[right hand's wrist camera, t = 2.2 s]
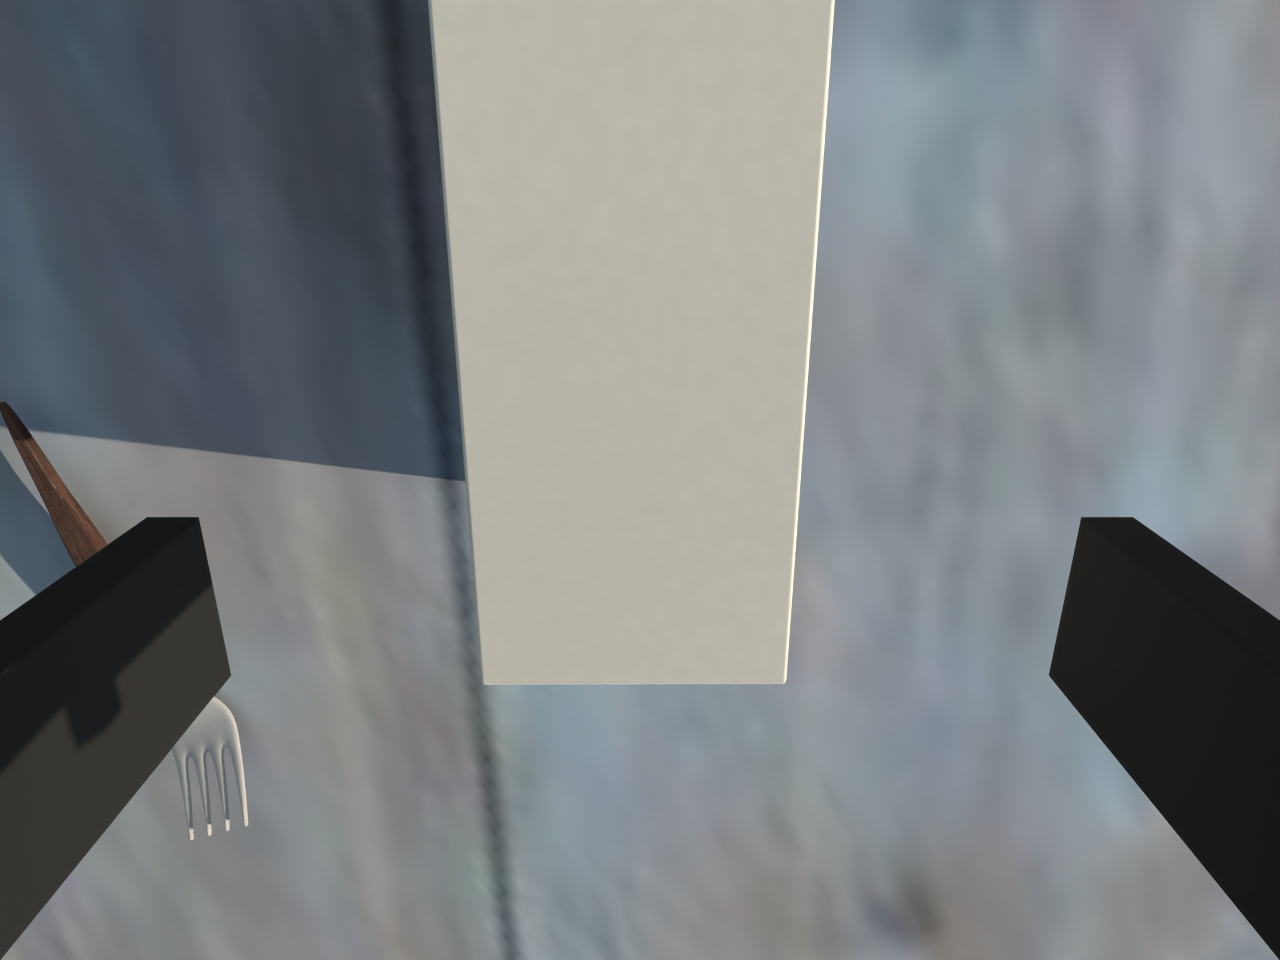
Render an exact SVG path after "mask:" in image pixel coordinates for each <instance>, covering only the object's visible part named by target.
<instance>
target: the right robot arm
mask: <svg viewBox="0 0 1280 960" xmlns="http://www.w3.org/2000/svg"><path fill="white" fill-rule="evenodd" d="M230 676H231V673H230V668H229V663H228V658H227V653H226V648H225V643H224V639H223V634H222V629H221V624H220V619H219V614H218V609H217V604H216V600H215V595H214V590H213V585H212V580H211V575H210V570H209V566H208V561H207V556H206V551H205V546H204V541H203V536H202V531H201V527H200V522H199V517H147V518H145V519H144V520H143V521H141V522H140V523H138V524H137V525H135V526H134V527H133V528H131V529H130V530H128V531H127V532H125V533H124V534H123V535H121V536H120V537H118V538H117V539H116V540H114V541H113V542H111V543H110V544H108V545H107V546H106V547H104V548H103V549H101V550H100V551H98V552H97V553H96V554H94V555H93V556H91V557H90V558H88V559H87V560H86V561H84V562H83V563H81V564H80V565H79V566H77V567H76V568H74V569H73V570H71V571H70V572H69V573H67V574H66V575H64V576H63V577H61V578H60V579H59V580H57V581H56V582H54V583H53V584H51V585H50V586H49V587H47V588H46V589H44V590H43V591H42V592H40V593H39V594H37V595H36V596H34V597H33V598H32V599H30V600H29V601H27V602H26V603H24V604H23V605H22V606H20V607H19V608H17V609H16V610H14V611H13V612H12V613H10V614H9V615H7V616H6V617H5V618H3V619H2V620H0V960H1V959H2V957H3V956H4V955H5V954H6V952H7V951H8V950H9V949H10V947H11V946H12V945H13V944H14V943H15V941H16V940H17V939H18V938H19V936H20V935H21V934H22V933H23V931H24V930H25V929H26V928H27V926H28V925H29V924H30V923H31V922H32V920H33V919H34V918H35V917H36V915H37V914H38V913H39V912H40V910H41V909H42V908H43V907H44V906H45V904H46V903H47V902H48V901H49V899H50V898H51V897H52V896H53V894H54V893H55V892H56V891H57V889H58V888H59V887H60V886H61V885H62V883H63V882H64V881H65V880H66V878H67V877H68V876H69V875H70V873H71V872H72V871H73V870H74V869H75V867H76V866H77V865H78V864H79V862H80V861H81V860H82V859H83V857H84V856H85V855H86V854H87V852H88V851H89V850H90V849H91V848H92V846H93V845H94V844H95V843H96V841H97V840H98V839H99V838H100V836H101V835H102V834H103V833H104V832H105V830H106V829H107V828H108V827H109V825H110V824H111V823H112V822H113V820H114V819H115V818H116V817H117V815H118V814H119V813H120V812H121V811H122V809H123V808H124V807H125V806H126V804H127V803H128V802H129V801H130V799H131V798H132V797H133V796H134V795H135V793H136V792H137V791H138V790H139V788H140V787H141V786H142V785H143V783H144V782H145V781H146V780H147V778H148V777H149V776H150V775H151V774H152V772H153V771H154V770H155V769H156V767H157V766H158V765H159V764H160V762H161V761H162V760H163V759H164V758H165V756H166V755H167V754H168V753H169V751H170V750H171V749H172V748H173V746H174V745H175V744H176V743H177V741H178V740H179V739H180V738H181V737H182V735H183V734H184V733H185V732H186V730H187V729H188V728H189V727H190V725H191V724H192V723H193V722H194V721H195V719H196V718H197V717H198V716H199V714H200V713H201V712H202V711H203V709H204V708H205V707H206V706H207V704H208V703H209V702H210V701H211V700H212V698H213V697H214V696H215V695H216V693H217V692H218V691H219V690H220V688H221V687H222V686H223V685H224V683H225V682H226V681H227V680H228V679H229V677H230ZM1049 676H1050V677H1051V679H1052V680H1053V681H1054V682H1055V683H1056V685H1057V686H1058V687H1059V688H1060V690H1061V691H1062V692H1063V693H1064V695H1065V696H1066V697H1067V698H1068V700H1069V701H1070V702H1071V703H1072V704H1073V706H1074V707H1075V708H1076V709H1077V711H1078V712H1079V713H1080V714H1081V716H1082V717H1083V718H1084V719H1085V721H1086V722H1087V723H1088V724H1089V725H1090V727H1091V728H1092V729H1093V730H1094V732H1095V733H1096V734H1097V735H1098V737H1099V738H1100V739H1101V740H1102V741H1103V743H1104V744H1105V745H1106V746H1107V748H1108V749H1109V750H1110V751H1111V753H1112V754H1113V755H1114V756H1115V758H1116V759H1117V760H1118V761H1119V762H1120V764H1121V765H1122V766H1123V767H1124V769H1125V770H1126V771H1127V772H1128V774H1129V775H1130V776H1131V777H1132V778H1133V780H1134V781H1135V782H1136V783H1137V785H1138V786H1139V787H1140V788H1141V790H1142V791H1143V792H1144V793H1145V795H1146V796H1147V797H1148V798H1149V799H1150V801H1151V802H1152V803H1153V804H1154V806H1155V807H1156V808H1157V809H1158V811H1159V812H1160V813H1161V814H1162V815H1163V817H1164V818H1165V819H1166V820H1167V822H1168V823H1169V824H1170V825H1171V827H1172V828H1173V829H1174V830H1175V832H1176V833H1177V834H1178V835H1179V836H1180V838H1181V839H1182V840H1183V841H1184V843H1185V844H1186V845H1187V846H1188V848H1189V849H1190V850H1191V851H1192V852H1193V854H1194V855H1195V856H1196V857H1197V859H1198V860H1199V861H1200V862H1201V864H1202V865H1203V866H1204V867H1205V869H1206V870H1207V871H1208V872H1209V873H1210V875H1211V876H1212V877H1213V878H1214V880H1215V881H1216V882H1217V883H1218V885H1219V886H1220V887H1221V888H1222V889H1223V891H1224V892H1225V893H1226V894H1227V896H1228V897H1229V898H1230V899H1231V901H1232V902H1233V903H1234V904H1235V906H1236V907H1237V908H1238V909H1239V910H1240V912H1241V913H1242V914H1243V915H1244V917H1245V918H1246V919H1247V920H1248V922H1249V923H1250V924H1251V925H1252V926H1253V928H1254V929H1255V930H1256V931H1257V933H1258V934H1259V935H1260V936H1261V938H1262V939H1263V940H1264V941H1265V943H1266V944H1267V945H1268V946H1269V947H1270V949H1271V950H1272V951H1273V952H1274V954H1275V955H1276V956H1277V957H1278V959H1279V960H1280V620H1278V619H1277V618H1275V617H1274V616H1273V615H1271V614H1270V613H1268V612H1267V611H1266V610H1264V609H1263V608H1261V607H1260V606H1258V605H1257V604H1256V603H1254V602H1253V601H1251V600H1250V599H1248V598H1247V597H1246V596H1244V595H1243V594H1241V593H1240V592H1238V591H1237V590H1236V589H1234V588H1233V587H1231V586H1230V585H1229V584H1227V583H1226V582H1224V581H1223V580H1221V579H1220V578H1219V577H1217V576H1216V575H1214V574H1213V573H1211V572H1210V571H1209V570H1207V569H1206V568H1204V567H1203V566H1201V565H1200V564H1199V563H1197V562H1196V561H1194V560H1193V559H1192V558H1190V557H1189V556H1187V555H1186V554H1184V553H1183V552H1182V551H1180V550H1179V549H1177V548H1176V547H1174V546H1173V545H1172V544H1170V543H1169V542H1167V541H1166V540H1164V539H1163V538H1162V537H1160V536H1159V535H1157V534H1156V533H1155V532H1153V531H1152V530H1150V529H1149V528H1147V527H1146V526H1145V525H1143V524H1142V523H1140V522H1139V521H1137V520H1136V519H1135V518H1133V517H1081V522H1080V527H1079V531H1078V536H1077V541H1076V546H1075V551H1074V556H1073V561H1072V566H1071V570H1070V575H1069V580H1068V585H1067V590H1066V595H1065V600H1064V604H1063V609H1062V614H1061V619H1060V624H1059V629H1058V634H1057V639H1056V643H1055V648H1054V653H1053V658H1052V663H1051V668H1050V673H1049Z"/></svg>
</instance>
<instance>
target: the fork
mask: <svg viewBox="0 0 1280 960" xmlns="http://www.w3.org/2000/svg"><path fill="white" fill-rule="evenodd" d="M0 410H1V413H2V416H3V418H4V421H5V423H6V425H7V427H8V430H9V432H10V434H11V436H12V438H13V441H14V443H15V445H16V447H17V449H18V451H19V453H20V455H21V457H22V459H23V461H24V463H25V465H26V467H27V469H28V471H29V473H30V475H31V477H32V479H33V481H34V483H35V485H36V487H37V489H38V491H39V493H40V495H41V497H42V499H43V501H44V503H45V505H46V507H47V509H48V511H49V514H50V516H51V518H52V520H53V522H54V524H55V526H56V528H57V530H58V532H59V535H60V537H61V539H62V541H63V543H64V545H65V547H66V549H67V551H68V553H69V555H70V557H71V558H72V560H73V562H74V564H75V565H76V567H77V566H79V565H80V564H81V563H83V562H84V561H86V560H87V559H88V558H90V557H91V556H93V555H94V554H96V553H97V552H98V551H100V550H101V549H103V548H104V547H106V546H107V545H108V544H107V543H106V541H105V540H104V538H103V537H102V536H101V534H100V533H99V531H98V530H97V529H96V527H95V526H94V524H93V523H92V522H91V520H90V519H89V518H88V516H87V515H86V514H85V512H84V511H83V509H82V508H81V507H80V505H79V504H78V503H77V501H76V500H75V498H74V497H73V496H72V494H71V493H70V491H69V490H68V489H67V487H66V486H65V484H64V483H63V481H62V480H61V478H60V477H59V475H58V474H57V472H56V471H55V469H54V468H53V466H52V465H51V463H50V462H49V460H48V459H47V457H46V456H45V454H44V453H43V451H42V450H41V448H40V447H39V445H38V444H37V443H36V441H35V440H34V438H33V437H32V435H31V434H30V432H29V431H28V430H27V428H26V427H25V425H24V424H23V423H22V421H21V420H20V419H19V417H18V416H17V415H16V414H15V412H14V411H13V410H12V409H11V407H10V406H9V405H8V404H7V403H6V402H1V403H0ZM225 747H227V748H228V749H229V751H230V753H231V757H232V760H233V765H234V770H235V775H236V780H237V785H238V791H239V796H240V802H241V808H242V814H243V824H244V826H247V825H248V816H247V803H246V791H245V780H244V770H243V762H242V755H241V748H240V741H239V735H238V729H237V725H236V722H235V719H234V717H233V715H232V713H231V712H230V710H229V709H228V708H227V707H226V705H225V704H223V703H222V702H221V701H220V700H219V699H217V698H216V697H213V698H212V700H211V701H210V702H209V703H208V704H207V706H206V707H205V708H204V709H203V711H202V712H201V713H200V714H199V716H198V717H197V718H196V719H195V721H194V722H193V723H192V724H191V725H190V727H189V728H188V729H187V730H186V732H185V733H184V734H183V735H182V737H181V738H180V739H179V740H178V741H177V743H176V744H175V745H174V746H173V748H172V751H173V754H174V757H175V761H176V764H177V768H178V773H179V777H180V782H181V788H182V793H183V799H184V805H185V811H186V817H187V824H188V833H189V840H193V838H194V835H193V819H192V805H191V792H190V782H189V773H188V758H189V757H190V756H191V757H192V758H193V760H194V762H195V765H196V769H197V774H198V779H199V784H200V789H201V795H202V801H203V807H204V813H205V819H206V826H207V834H208V835H211V815H210V801H209V789H208V779H207V770H206V753H207V752H210V753H211V755H212V758H213V761H214V765H215V769H216V774H217V780H218V785H219V790H220V796H221V801H222V808H223V814H224V820H225V829H226V831H228V830H229V828H230V826H229V809H228V796H227V785H226V775H225V766H224V753H223V752H224V748H225Z"/></svg>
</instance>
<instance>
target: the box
mask: <svg viewBox="0 0 1280 960" xmlns="http://www.w3.org/2000/svg"><path fill="white" fill-rule="evenodd" d="M834 2H835V0H428V8H429V21H430V34H431V47H432V60H433V72H434V85H435V98H436V111H437V124H438V137H439V149H440V162H441V175H442V188H443V201H444V214H445V226H446V239H447V252H448V265H449V278H450V291H451V303H452V316H453V329H454V342H455V355H456V368H457V380H458V393H459V406H460V419H461V432H462V444H463V457H464V470H465V483H466V496H467V509H468V521H469V534H470V547H471V560H472V573H473V586H474V598H475V611H476V624H477V637H478V650H479V663H480V675H481V682H482V684H484V685H541V684H783V683H785V681H786V675H787V661H788V647H789V633H790V619H791V605H792V591H793V577H794V563H795V549H796V535H797V521H798V507H799V493H800V479H801V465H802V451H803V437H804V423H805V409H806V395H807V381H808V367H809V353H810V339H811V325H812V311H813V297H814V283H815V269H816V255H817V241H818V227H819V213H820V199H821V185H822V171H823V157H824V143H825V129H826V115H827V101H828V86H829V72H830V58H831V44H832V30H833V16H834Z"/></svg>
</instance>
